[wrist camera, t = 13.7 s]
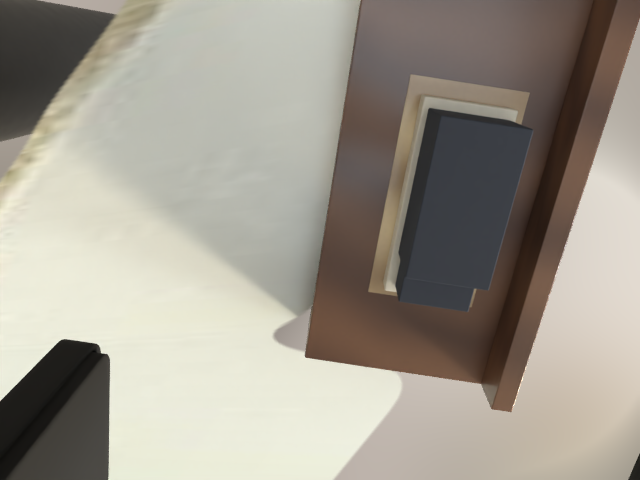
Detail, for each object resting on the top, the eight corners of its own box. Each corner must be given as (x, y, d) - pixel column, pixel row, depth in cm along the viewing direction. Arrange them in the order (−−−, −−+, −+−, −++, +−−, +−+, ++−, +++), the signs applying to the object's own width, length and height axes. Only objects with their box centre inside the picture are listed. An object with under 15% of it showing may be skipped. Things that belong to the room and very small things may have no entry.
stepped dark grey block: (421, 94, 26) (436, 102, 22) (511, 108, 26) (544, 118, 22) (382, 281, 30) (389, 320, 25) (462, 294, 30) (483, 334, 25)
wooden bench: (364, -34, 28) (371, -59, 22) (585, 0, 28) (650, -14, 22) (308, 325, 35) (301, 381, 29) (483, 352, 36) (512, 412, 30)
